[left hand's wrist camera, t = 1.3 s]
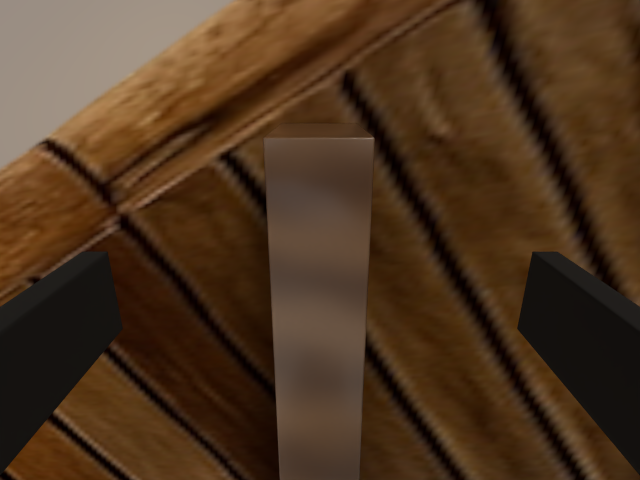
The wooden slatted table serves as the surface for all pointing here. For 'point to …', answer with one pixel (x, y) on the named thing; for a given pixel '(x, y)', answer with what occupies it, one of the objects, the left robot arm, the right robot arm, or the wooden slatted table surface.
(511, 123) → the wooden slatted table surface
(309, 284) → the plank
